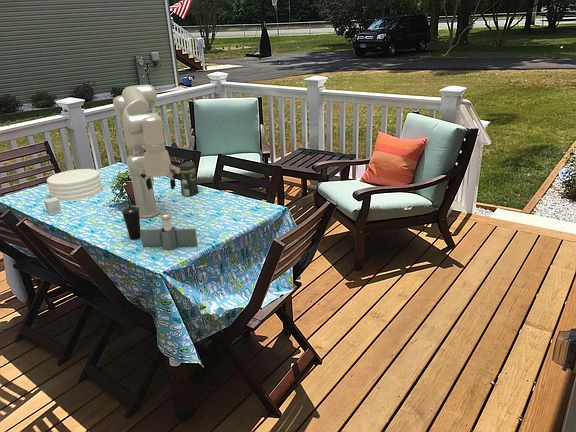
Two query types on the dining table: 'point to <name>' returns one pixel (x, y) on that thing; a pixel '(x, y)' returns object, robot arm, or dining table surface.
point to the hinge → (169, 238)
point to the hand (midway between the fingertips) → (161, 188)
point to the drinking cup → (132, 221)
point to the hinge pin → (166, 221)
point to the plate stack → (75, 184)
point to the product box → (52, 205)
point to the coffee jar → (188, 179)
